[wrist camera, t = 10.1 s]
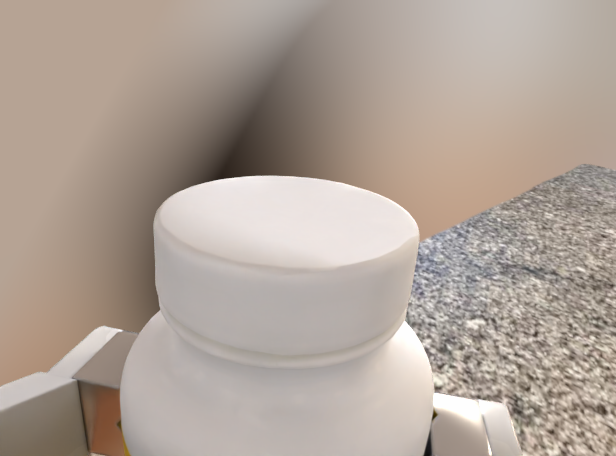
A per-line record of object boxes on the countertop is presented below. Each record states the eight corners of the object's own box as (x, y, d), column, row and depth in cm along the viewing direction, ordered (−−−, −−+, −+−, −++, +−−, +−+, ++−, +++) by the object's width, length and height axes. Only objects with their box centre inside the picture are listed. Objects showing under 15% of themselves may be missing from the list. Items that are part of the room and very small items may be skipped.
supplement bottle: (235, 459, 14) (241, 151, 10) (404, 543, 12) (491, 199, 8) (89, 658, 9) (0, 223, 5) (327, 852, 7) (448, 377, 3)
